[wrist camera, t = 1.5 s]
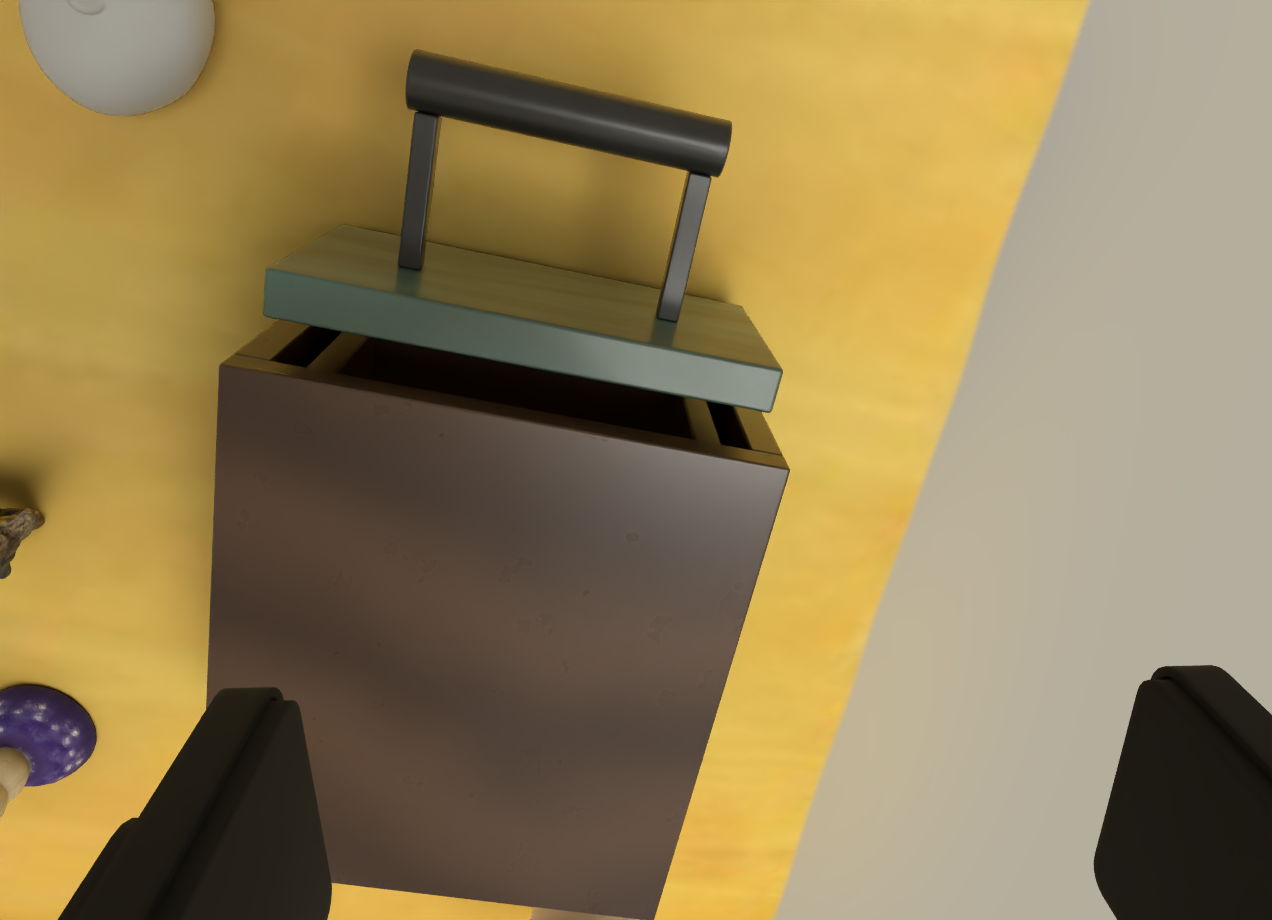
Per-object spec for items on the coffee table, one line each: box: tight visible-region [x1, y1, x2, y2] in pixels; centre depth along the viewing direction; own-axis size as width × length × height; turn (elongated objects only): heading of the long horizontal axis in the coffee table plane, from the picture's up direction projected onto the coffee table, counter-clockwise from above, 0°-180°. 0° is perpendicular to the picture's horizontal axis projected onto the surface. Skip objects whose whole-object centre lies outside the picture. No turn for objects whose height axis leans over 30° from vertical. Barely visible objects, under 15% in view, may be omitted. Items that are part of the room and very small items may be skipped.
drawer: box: [263, 49, 783, 445], centre depth 27 cm, size 20×13×7 cm, turn 168°
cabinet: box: [206, 320, 790, 920], centre depth 29 cm, size 16×14×9 cm
